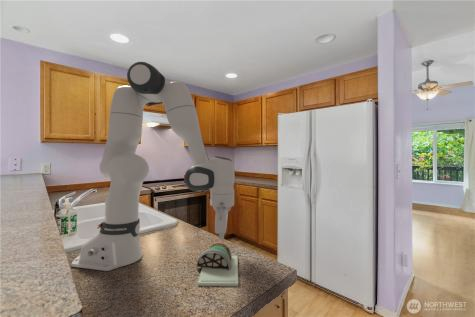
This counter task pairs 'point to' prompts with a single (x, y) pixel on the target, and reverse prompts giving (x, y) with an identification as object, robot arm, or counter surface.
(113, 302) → the counter surface
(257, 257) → the counter surface
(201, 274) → the cutting board
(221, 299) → the counter surface
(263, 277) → the counter surface
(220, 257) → the food container
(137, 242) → the robot arm
